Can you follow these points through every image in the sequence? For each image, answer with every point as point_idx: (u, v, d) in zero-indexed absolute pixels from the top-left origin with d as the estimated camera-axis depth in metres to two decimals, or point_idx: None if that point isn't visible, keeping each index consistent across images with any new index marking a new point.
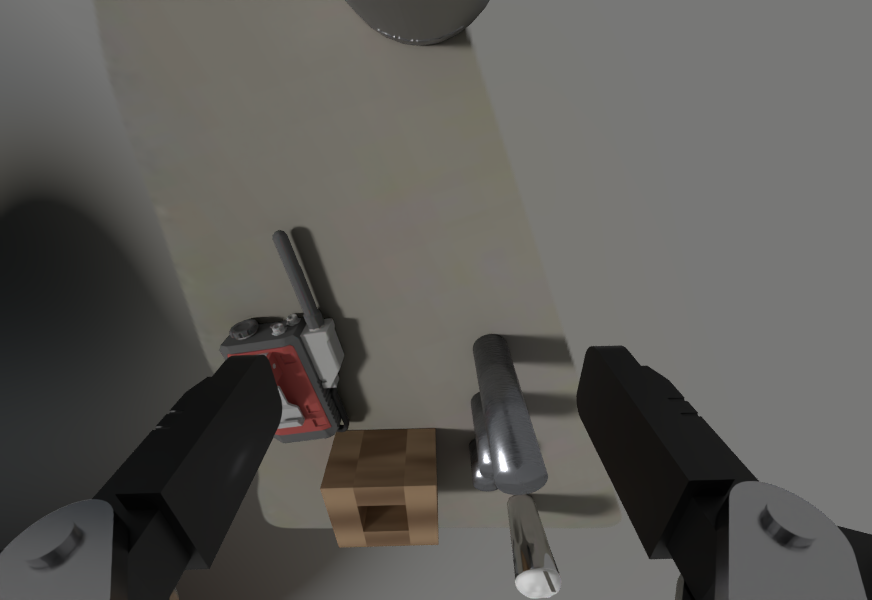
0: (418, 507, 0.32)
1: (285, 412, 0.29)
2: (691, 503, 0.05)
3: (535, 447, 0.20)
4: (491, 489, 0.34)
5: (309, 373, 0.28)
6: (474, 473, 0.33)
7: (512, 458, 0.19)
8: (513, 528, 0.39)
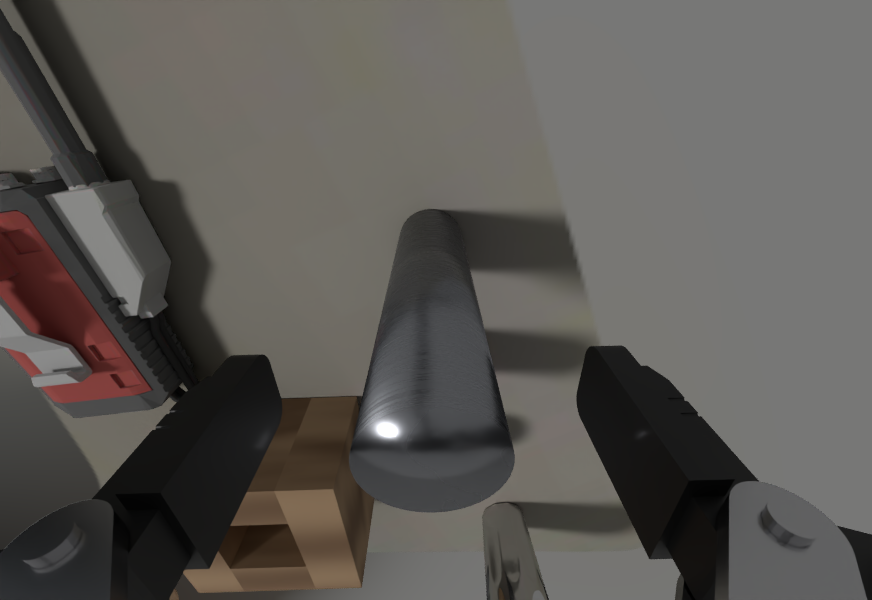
0: (311, 528, 0.18)
1: (48, 357, 0.16)
2: (691, 503, 0.05)
3: (479, 370, 0.07)
4: None
5: (81, 280, 0.15)
6: None
7: (397, 394, 0.06)
8: (488, 556, 0.25)
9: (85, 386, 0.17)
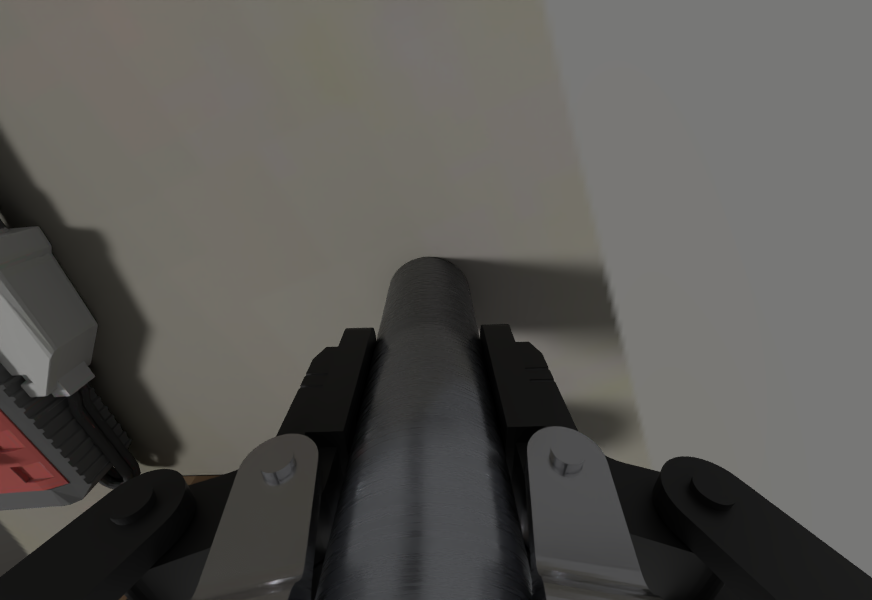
0: None
1: None
2: (517, 448, 0.06)
3: None
4: None
5: None
6: None
7: None
8: None
9: None
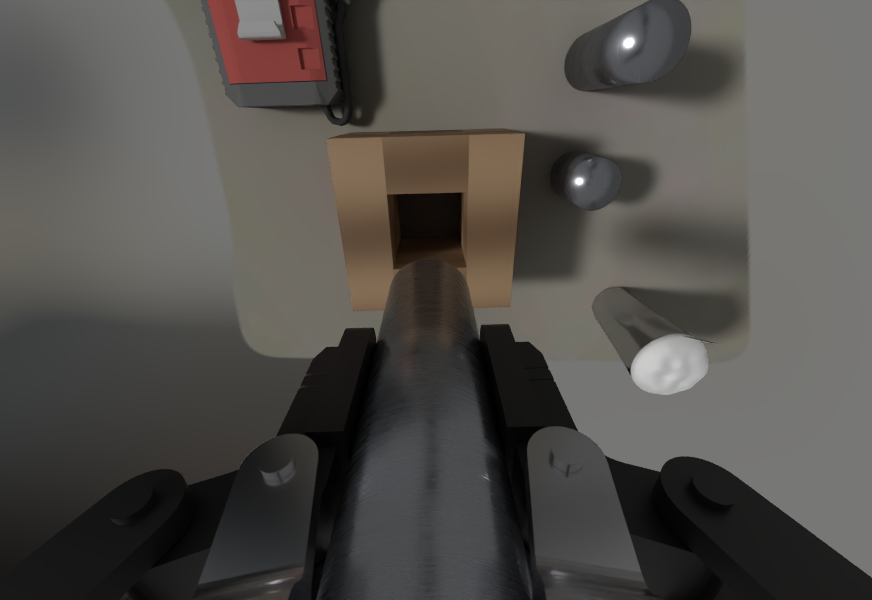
0: (487, 200, 0.19)
1: (255, 8, 0.17)
2: (517, 448, 0.06)
3: None
4: (597, 205, 0.21)
5: None
6: (572, 172, 0.21)
7: None
8: (612, 316, 0.26)
9: (269, 62, 0.19)
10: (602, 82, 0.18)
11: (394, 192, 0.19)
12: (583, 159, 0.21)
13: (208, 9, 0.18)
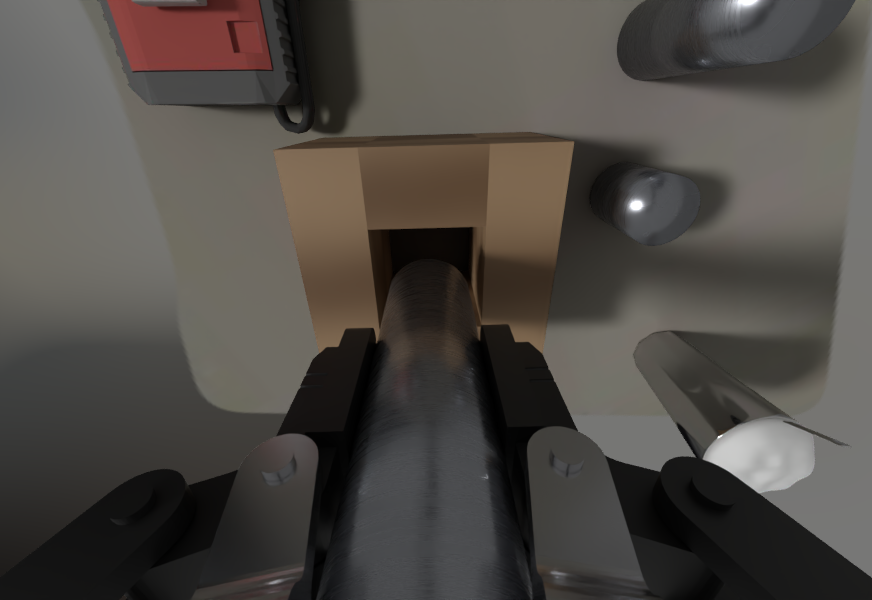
0: (514, 237, 0.13)
1: None
2: (517, 448, 0.06)
3: None
4: (662, 239, 0.15)
5: None
6: (629, 194, 0.15)
7: None
8: (668, 375, 0.20)
9: (186, 40, 0.13)
10: (687, 64, 0.12)
11: (378, 227, 0.13)
12: (644, 175, 0.15)
13: None
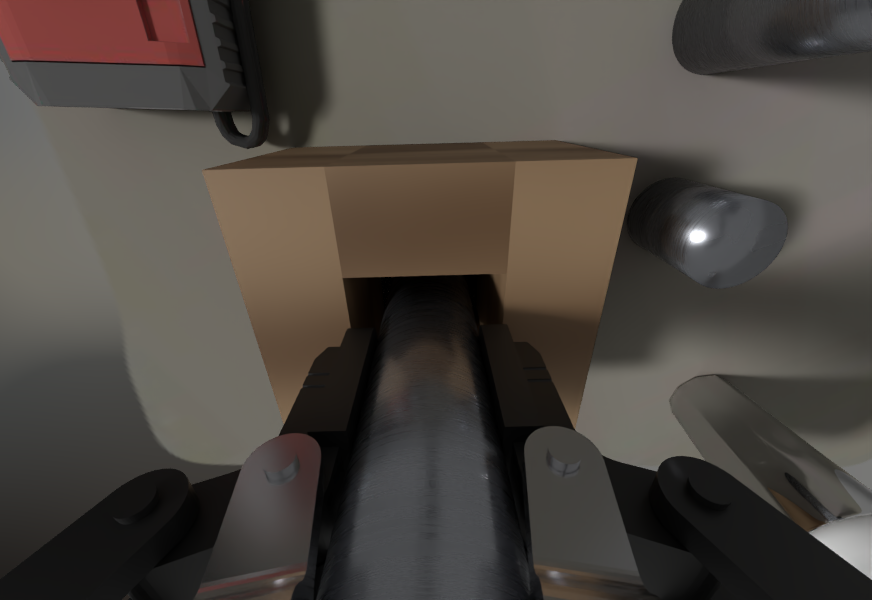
0: (545, 287, 0.10)
1: None
2: (514, 448, 0.06)
3: None
4: (732, 280, 0.12)
5: None
6: (691, 223, 0.11)
7: None
8: (720, 436, 0.16)
9: (81, 21, 0.09)
10: (792, 49, 0.09)
11: (357, 274, 0.09)
12: (711, 198, 0.11)
13: None
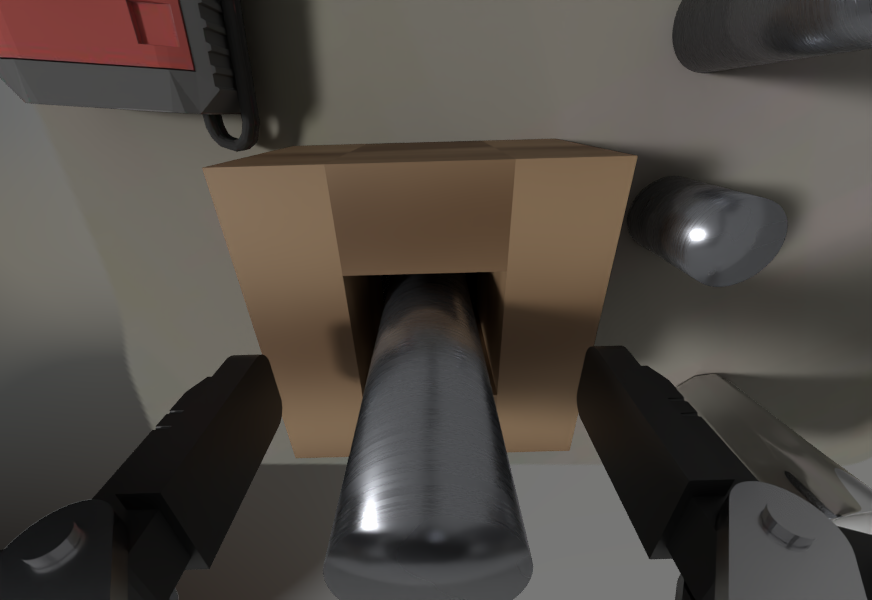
0: (545, 285, 0.10)
1: None
2: (691, 503, 0.05)
3: (488, 449, 0.06)
4: (732, 278, 0.12)
5: None
6: (691, 221, 0.11)
7: (384, 492, 0.05)
8: (720, 435, 0.16)
9: (71, 22, 0.09)
10: (792, 46, 0.09)
11: (358, 272, 0.09)
12: (711, 197, 0.11)
13: None
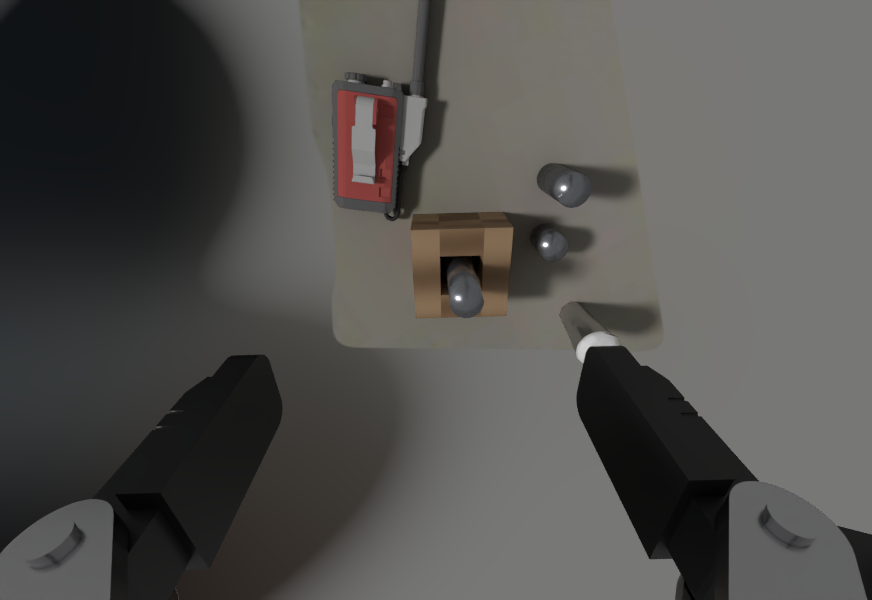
0: (494, 259, 0.35)
1: (362, 168, 0.34)
2: (691, 503, 0.05)
3: (476, 285, 0.31)
4: (555, 258, 0.38)
5: (397, 136, 0.33)
6: (541, 241, 0.37)
7: (460, 287, 0.31)
8: (569, 321, 0.42)
9: (362, 190, 0.35)
10: None
11: (444, 255, 0.35)
12: (547, 233, 0.37)
13: (336, 162, 0.34)
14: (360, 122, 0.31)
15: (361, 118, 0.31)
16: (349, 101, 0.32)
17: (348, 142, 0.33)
